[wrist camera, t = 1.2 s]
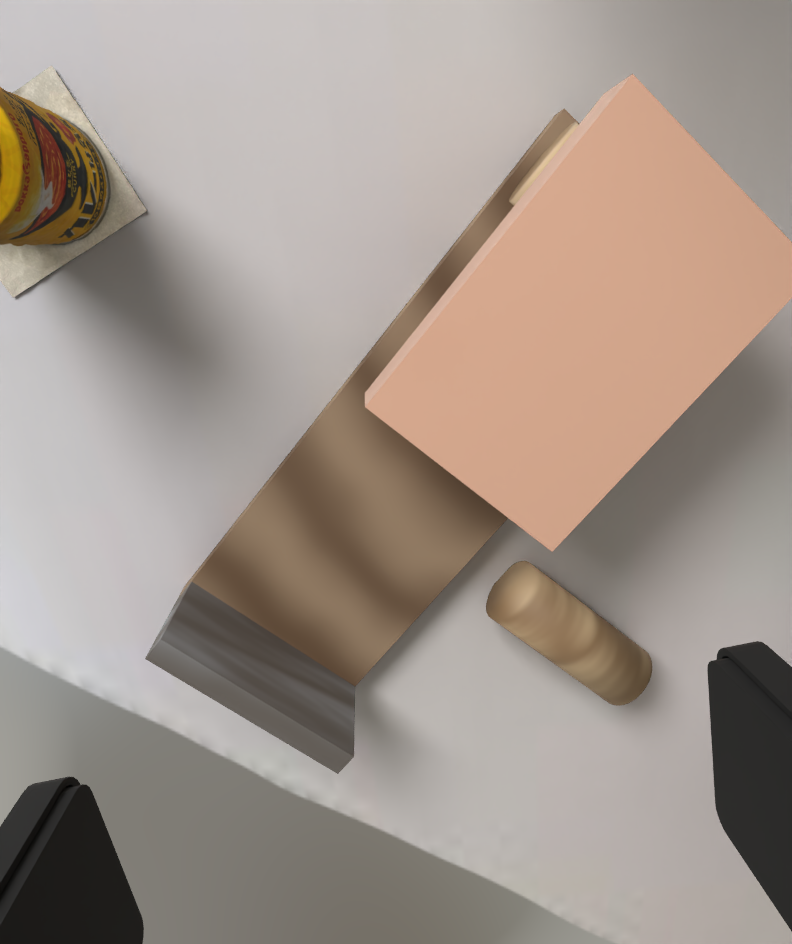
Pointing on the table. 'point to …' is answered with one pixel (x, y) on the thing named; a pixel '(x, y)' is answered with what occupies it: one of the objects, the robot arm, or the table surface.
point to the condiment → (54, 183)
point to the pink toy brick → (587, 317)
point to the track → (335, 548)
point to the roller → (569, 634)
